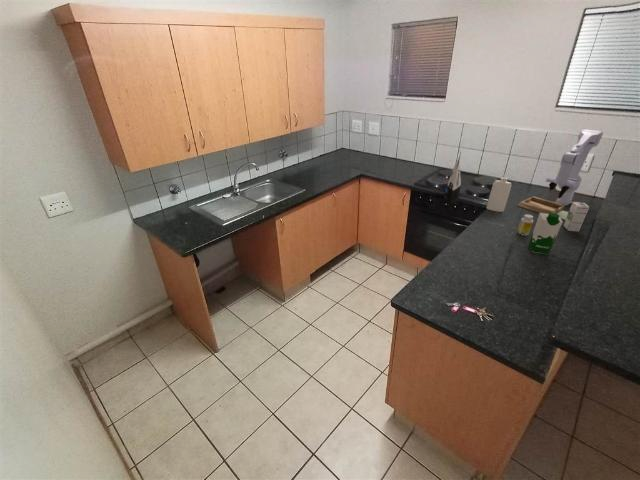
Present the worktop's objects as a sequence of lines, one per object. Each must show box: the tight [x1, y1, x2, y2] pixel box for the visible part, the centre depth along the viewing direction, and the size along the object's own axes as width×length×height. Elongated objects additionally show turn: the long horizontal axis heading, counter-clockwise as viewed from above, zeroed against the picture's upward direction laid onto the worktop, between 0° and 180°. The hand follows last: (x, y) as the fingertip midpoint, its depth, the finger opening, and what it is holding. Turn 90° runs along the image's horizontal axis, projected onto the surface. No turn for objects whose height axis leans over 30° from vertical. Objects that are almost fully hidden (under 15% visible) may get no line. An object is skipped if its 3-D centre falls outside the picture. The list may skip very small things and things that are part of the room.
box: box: [546, 187, 561, 203], centre depth 186 cm, size 7×4×6 cm, turn 123°
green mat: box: [555, 209, 569, 221], centre depth 185 cm, size 12×7×1 cm, turn 124°
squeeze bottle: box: [486, 176, 512, 213], centre depth 189 cm, size 10×20×5 cm
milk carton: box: [528, 213, 564, 255], centre depth 149 cm, size 9×9×20 cm
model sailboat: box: [443, 151, 462, 205], centre depth 203 cm, size 10×24×30 cm, turn 157°
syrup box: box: [562, 201, 590, 232], centre depth 168 cm, size 6×6×14 cm
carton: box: [518, 196, 565, 214], centre depth 194 cm, size 17×18×3 cm
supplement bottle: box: [516, 214, 534, 236], centre depth 166 cm, size 6×6×10 cm
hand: (555, 196), depth 186 cm, fingers closed on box, 4 cm apart
